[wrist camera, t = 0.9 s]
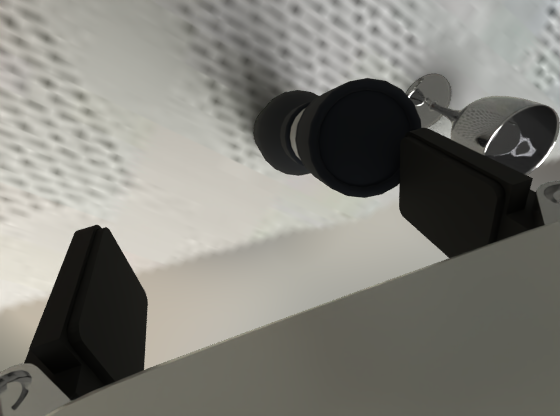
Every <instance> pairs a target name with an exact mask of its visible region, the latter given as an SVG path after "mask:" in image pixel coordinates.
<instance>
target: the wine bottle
mask: <svg viewBox="0 0 560 416" xmlns="http://www.w3.org/2000/svg"><path fill="white" fill-rule="evenodd" d="M420 128H422V127H421V119H420V117H419V114H418V112H417V110H416V107H415V105H414V103H413V102H412V101H411V99H410V98H409V97H408V96H407V95H406V94H405V93H404V92H403V90H401V89H400V88H398V87H396V86H394V85H392V84H390V83H389V82H387V81H383V80H376V79H370V78H365V79H360V80H355V81H350V82H347V83H345V84H343V85H341V86H339V87H336V88H334V89H332V90H330V91H328V92H326V93H324V94H322V95H321V96H318V95H316V94H314V93H312V92H307V91H300V90H295V91H290V92H285V93H283V94H281V95H279V96H277V97H276V98H274V99H272V100H271V102H270V103H269V104H268V105H267V106H266V107H265V108H264V109H263V111H262V112H261V113H260V114H259V116H258V117H257V120H256V122H255V124H254V132H253V134H254V139H255V143H256V144H257V146H258V148H259V150H260V151H261V153H262V155H263V157H264V158H265V160H266V161H267V162H268V163H269V164H270V165H271V166H272V167H274V168H275V169H276V170H279V171H281V172H283V173H285V174H290V175H298V176H299V175H305V174H309V173H311V174H312V175H313V176H314V177H316V178H317V179H319V180H320V181H322V182H323V183H324V184H326V185H327V186H329V187H330V188H331V189H334V190H336V191H338V192H340V193H342V194H344V195H346V196H353V197H362V198H366V197H371V196H375V195H380V194H383V193H385V192H387V191H388V190H390V189H392V188H394V187H396V186H397V185H398V184H399V183H400V143H401V140H402V139H403V138H404V136H405V134H406V133H407V132H410V131H413V130H417V129H420Z"/></svg>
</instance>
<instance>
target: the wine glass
mask: <svg viewBox="0 0 560 416" xmlns="http://www.w3.org/2000/svg"><path fill="white" fill-rule="evenodd" d="M406 95H407V96H408V97H409V98H410V99H411V101H412V102H413V103H414V105H415V107H416V110H417V112H418V114H419V117H420V119H421V127H422V128H423V127H425V128H427V127H430V126H431V125H433V124H435V123H436V122H437V121H438V120H439V119H440V118H441V117H442V116H445V117H446V118H447V119H449V120H450V121H451V123H452V128H451V140H453V141H455V142H457V143H459V144H461V145H464V146H466V147H468V148H470V149H472V150H474V151H476V152H478V153H480V154H482V155H485V156H487V157H489V158H491V159H493V160H495V161H497V162H499V163H501V164H504V165H506V166H508V167H510V168H512V169H514V170H516V171H518V172H520V173H522V174H525V175H528V174H530V173H531V172H532V171H534V170H535V169H536V168H537V167H538V166H539V165H540V164H541V163H542V162H543V161H544V160H545V158H546V157H547V156H548V154H549V153H550V151H551V150H552V148H553V146H554V144H555V142H556V139H557V137H558V133H559V125H560V122H559V117H558V115H557V113H556V112H555V110H554V109H552V108H550V107H549V106H546V105H543V104H541V103H538V102H534V101H530V100H526V99H522V98H517V97H510V96H490V97H484V98H481V99H479V100H476V101H474V102H472V103H471V104H469V105H468V106H466V107H465V108H463V109H462V110H452V109H448V106H449V103H450V100H451V87H450V84H449V82H448V80H447V79H446V78H445V77H444V76H442V75H439V74H429V75H426V76H423V77H421V78H420V79H418V80H417V81H416V82H414V83H413V84H412V85H411V86H410V88H409V89H408V90H407V92H406Z"/></svg>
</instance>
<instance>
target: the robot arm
mask: <svg viewBox="0 0 560 416" xmlns="http://www.w3.org/2000/svg"><path fill="white" fill-rule="evenodd" d="M532 179H533V178H531V177H529V176H527V175H525V174H522V173H520V172H518V171H516V170H514V169H512V168H510V167H508V166H506V165H504V164H501V163H499V162H497V161H495V160H493V159H491V158H489V157H487V156H485V155H482V154H480V153H478V152H476V151H474V150H472V149H470V148H468V147H466V146H464V145H461V144H459V143H457V142H455V141H453V140H451V139H449V138H447V137H445V136H442V135H440V134H438V133H436V132H434V131H432V130H430V129H428V128H425V127H423V128H420V129H417V130H413V131H410V132H407V133H406V134H405V136H404V138H403V139H402V140H401V143H400V192H399V209H400V212H401V214H402V216H403V217H404V218H405V219H406V220H407V221H409V222H410V223H411V224H412V225H413V226H414V227H415V228H417V230H419V231H420V232H421V233H422V234H423V235H424V236H425V237H427V238H428V239H429V240H430V241H431V242H432V243H433V244H434V245H436V246H437V247H438V248H439V249H440V250H441V251H442V252H443V253H445V255H447V256H448V257H449V259H446V260H444V261H441V262H438V263H435V264H432V265H430V266H427V267H424V268H422V269H418V270H416V271H413V272H410V273H407V274H404V275H402V276H399V277H396V278H393V279H390V280H388V281H385V282H383V283H380V284H377V285H374V286H371V287H368V288H366V289H363V290H360V291H357V292H355V293H352V294H349V295H347V296H344V297H341V298H338V299H336V300H333V301H330V302H327V303H324V304H322V305H319V306H316V307H314V308H311V309H308V310H305V311H302V312H300V313H297V314H294V315H291V316H289V317H286V318H284V319H281V320H278V321H275V322H272V323H270V324H267V325H265V326H262V327H259V328H256V329H254V330H251V331H248V332H245V333H243V334H240V335H237V336H235V337H232V338H229V339H226V340H224V341H221V342H218V343H216V344H213V345H210V346H208V347H205V348H202V349H199V350H197V351H194V352H191V353H189V354H186V355H183V356H180V357H178V358H175V359H172V360H170V361H167V362H164V363H162V364H159V365H156V366H154V367H151V368H148V369H146V370H144V358H145V341H146V323H147V322H146V321H147V306H148V302H147V296H146V293H145V291H144V289H143V287H142V286H141V284H140V282H139V280H138V279H137V277H136V275H135V273H134V272H133V270H132V268H131V266H130V265H129V263H128V261H127V259H126V258H125V256H124V254H123V252H122V251H121V249H120V247H119V245H118V244H117V242H116V240H115V238H114V237H113V235H112V233H111V232H110V230H109V229H108V228H107V227H105V228H101V227H100V226H99V225H95V226H91V227H88V228H85V229H81V230H78V231H76V232H75V233H74V236H73V238H72V241H71V243H70V246H69V249H68V251H67V254H66V256H65V259H64V261H63V264H62V266H61V269H60V271H59V274H58V277H57V279H56V282H55V284H54V287H53V289H52V292H51V294H50V297H49V300H48V302H47V305H46V308H45V310H44V312H43V315H42V318H41V320H40V322H39V325H38V328H37V330H36V333H35V335H34V338H33V340H32V343H31V345H30V348H29V352H28V355H27V357H26V360H25V362H24V364H18V365H15V366H11V367H9V368H7V369H5V370H3V371H1V372H0V416H560V181H553V182H547V183H545V184H542V185H540V186H539V187H538V189H537V191H536V192H534V191H532V190H530V186H531V182H532Z"/></svg>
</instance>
